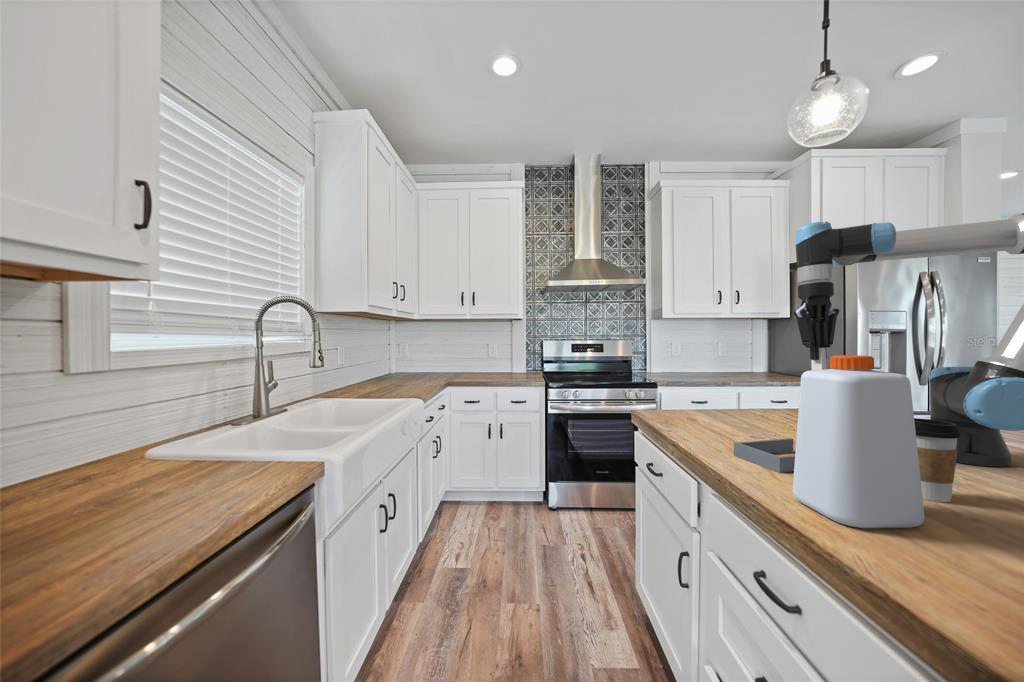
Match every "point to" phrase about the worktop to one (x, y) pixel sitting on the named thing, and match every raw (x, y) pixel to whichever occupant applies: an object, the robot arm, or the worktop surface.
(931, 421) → the coffee cup
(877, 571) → the worktop surface
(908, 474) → the plastic bottle
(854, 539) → the worktop surface
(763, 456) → the grey shallow tray
